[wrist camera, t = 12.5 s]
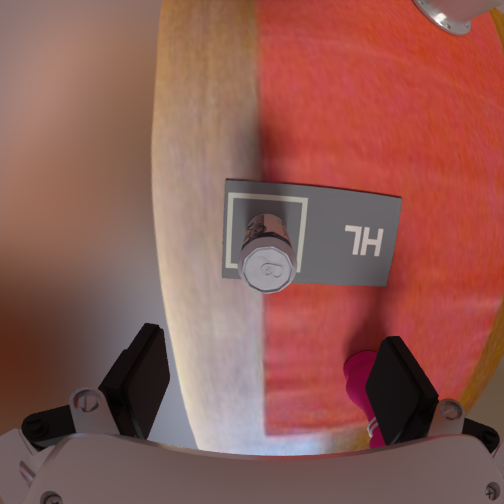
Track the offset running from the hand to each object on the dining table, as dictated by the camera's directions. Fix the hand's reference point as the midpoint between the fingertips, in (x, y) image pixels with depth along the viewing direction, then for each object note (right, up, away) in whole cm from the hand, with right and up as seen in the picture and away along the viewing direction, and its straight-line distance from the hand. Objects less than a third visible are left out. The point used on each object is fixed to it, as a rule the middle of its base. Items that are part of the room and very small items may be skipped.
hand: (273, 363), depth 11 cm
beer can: (+1, +7, +22) cm, 23 cm away
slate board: (+7, +6, +22) cm, 24 cm away
